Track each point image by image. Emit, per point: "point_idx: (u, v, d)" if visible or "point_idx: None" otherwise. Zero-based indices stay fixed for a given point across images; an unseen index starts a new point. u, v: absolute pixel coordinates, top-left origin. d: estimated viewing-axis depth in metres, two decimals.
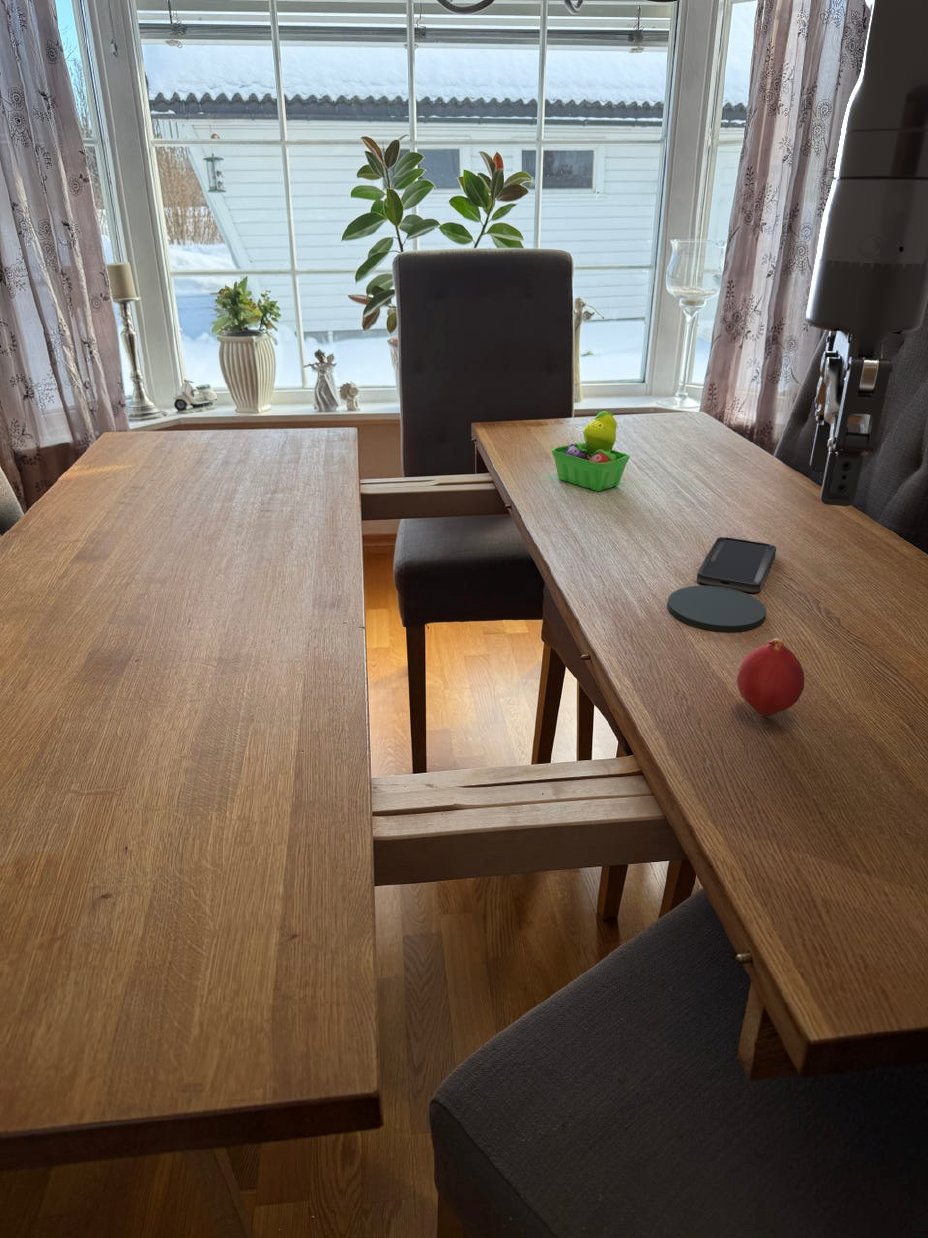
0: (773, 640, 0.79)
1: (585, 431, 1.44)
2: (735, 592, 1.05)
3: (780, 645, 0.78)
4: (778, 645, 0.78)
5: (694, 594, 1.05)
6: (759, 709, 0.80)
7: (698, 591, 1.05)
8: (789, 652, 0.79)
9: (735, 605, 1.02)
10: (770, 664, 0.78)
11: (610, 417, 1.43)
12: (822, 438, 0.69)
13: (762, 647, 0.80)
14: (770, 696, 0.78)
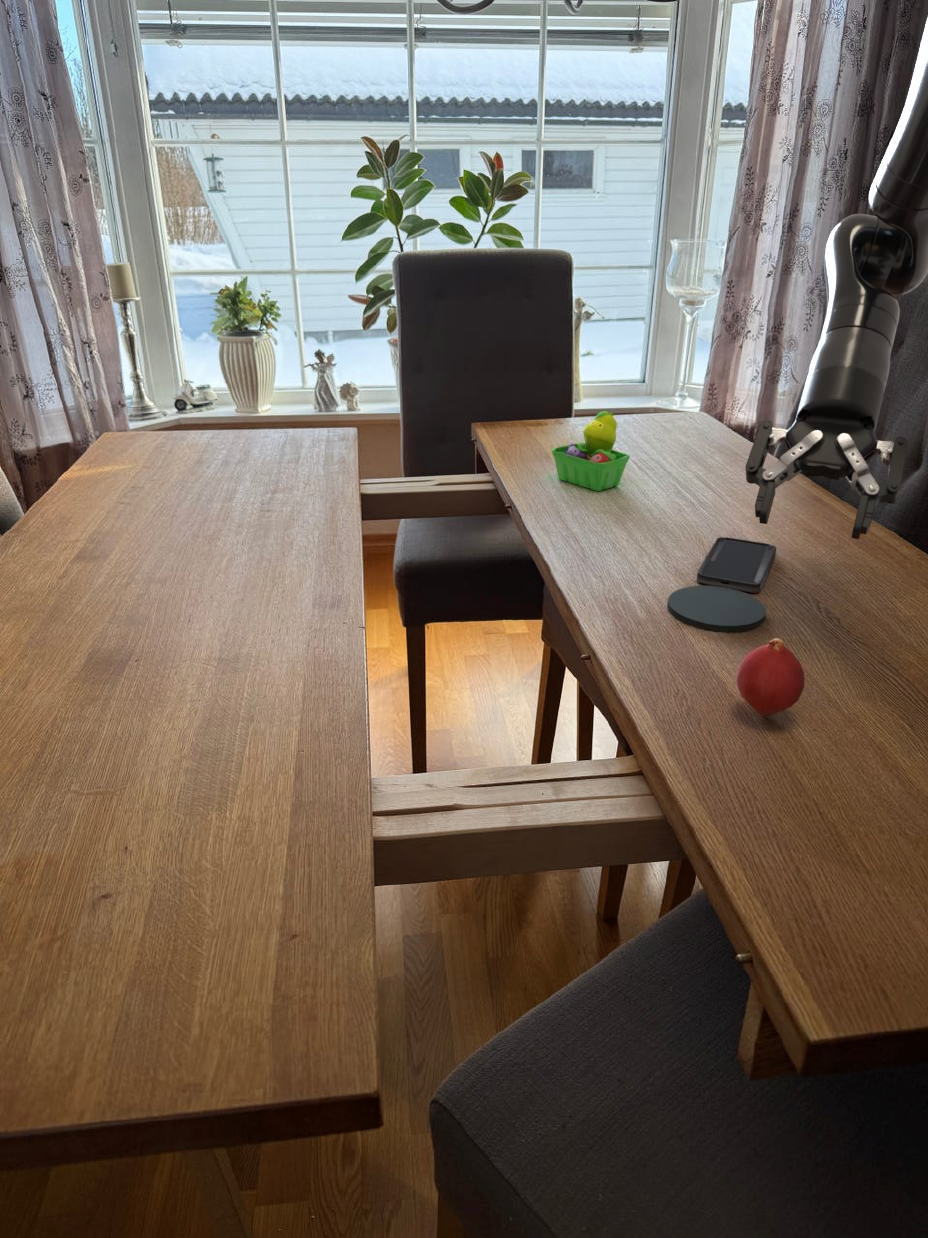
0: (773, 640, 0.79)
1: (585, 431, 1.44)
2: (735, 592, 1.05)
3: (780, 645, 0.78)
4: (778, 645, 0.78)
5: (694, 594, 1.05)
6: (759, 709, 0.80)
7: (698, 591, 1.05)
8: (789, 652, 0.79)
9: (735, 605, 1.02)
10: (770, 664, 0.78)
11: (610, 417, 1.43)
12: None
13: (762, 647, 0.80)
14: (770, 695, 0.78)
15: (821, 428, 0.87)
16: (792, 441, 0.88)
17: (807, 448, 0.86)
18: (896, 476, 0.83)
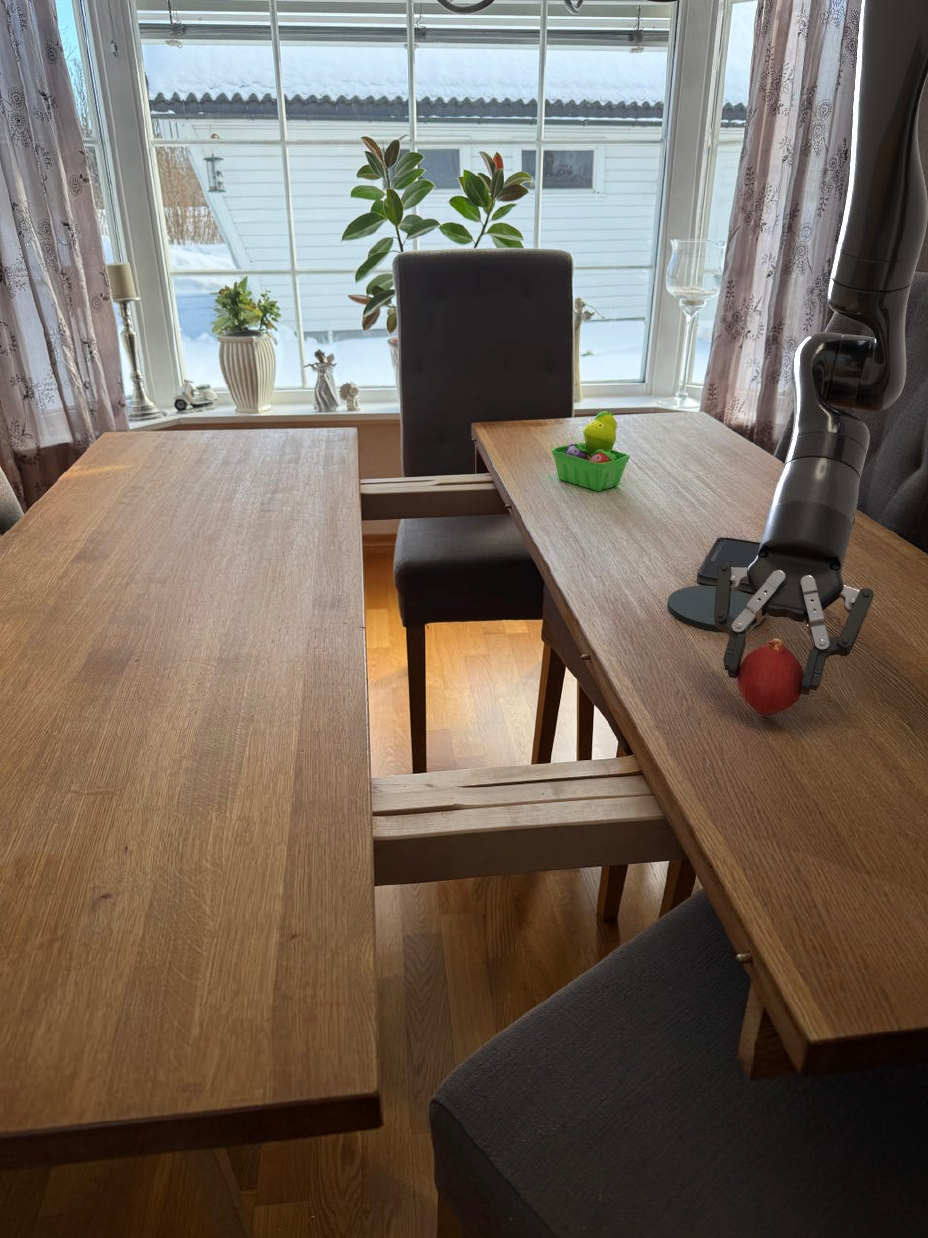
0: (773, 640, 0.79)
1: (585, 431, 1.44)
2: (735, 592, 1.05)
3: (780, 645, 0.78)
4: (778, 645, 0.78)
5: (694, 594, 1.05)
6: (759, 709, 0.80)
7: (698, 591, 1.05)
8: (789, 652, 0.79)
9: (735, 605, 1.02)
10: (770, 664, 0.78)
11: (610, 417, 1.43)
12: None
13: (762, 647, 0.80)
14: (769, 696, 0.78)
15: (784, 567, 0.81)
16: (753, 579, 0.82)
17: (769, 590, 0.80)
18: (850, 631, 0.77)
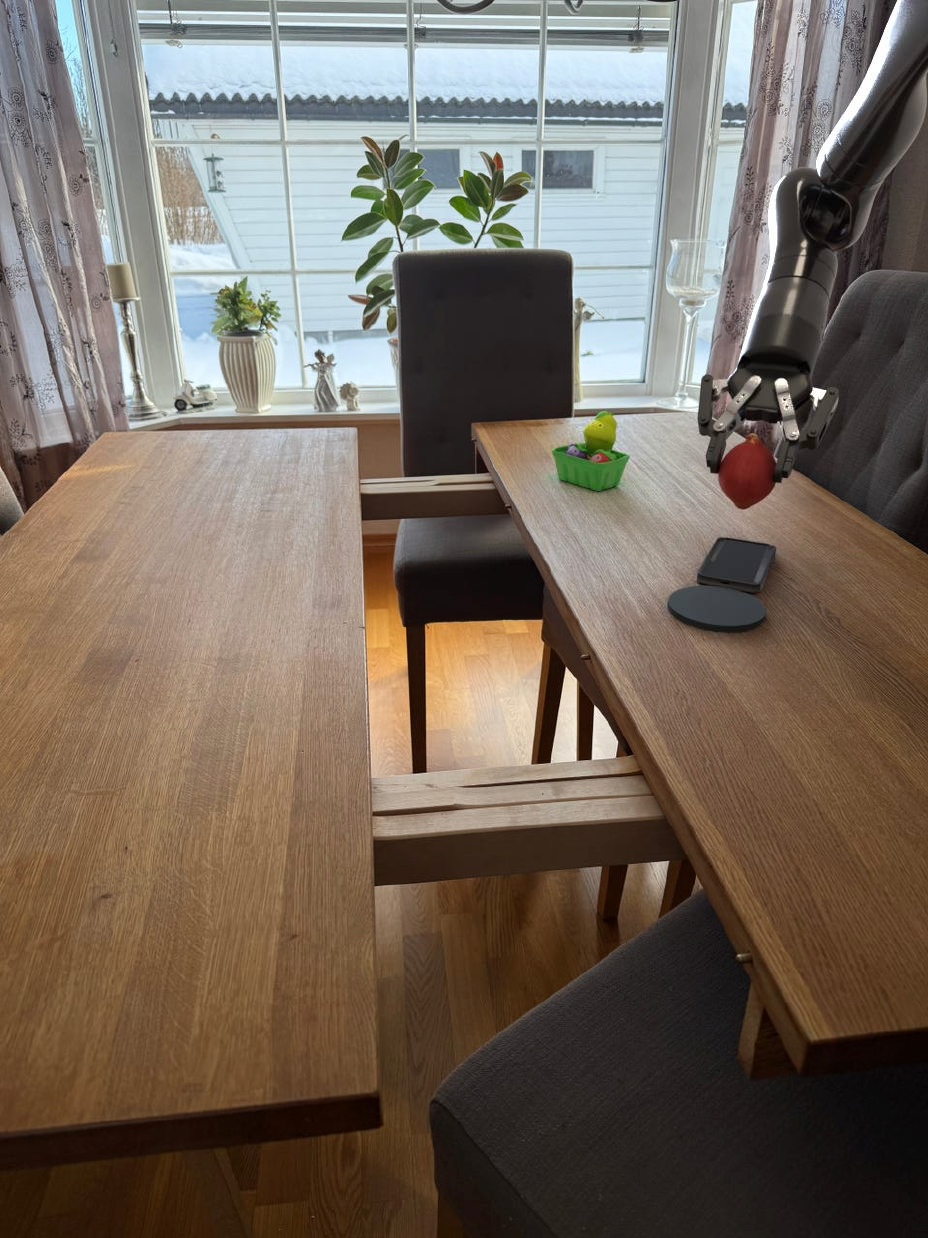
0: (749, 434, 0.88)
1: (585, 431, 1.44)
2: (735, 592, 1.05)
3: (756, 439, 0.88)
4: (754, 438, 0.88)
5: (694, 594, 1.05)
6: (737, 499, 0.90)
7: (698, 591, 1.05)
8: (764, 446, 0.89)
9: (735, 605, 1.02)
10: (747, 454, 0.88)
11: (610, 417, 1.43)
12: None
13: (740, 443, 0.89)
14: (746, 483, 0.88)
15: (760, 374, 0.91)
16: (733, 387, 0.91)
17: (746, 393, 0.90)
18: (818, 423, 0.87)
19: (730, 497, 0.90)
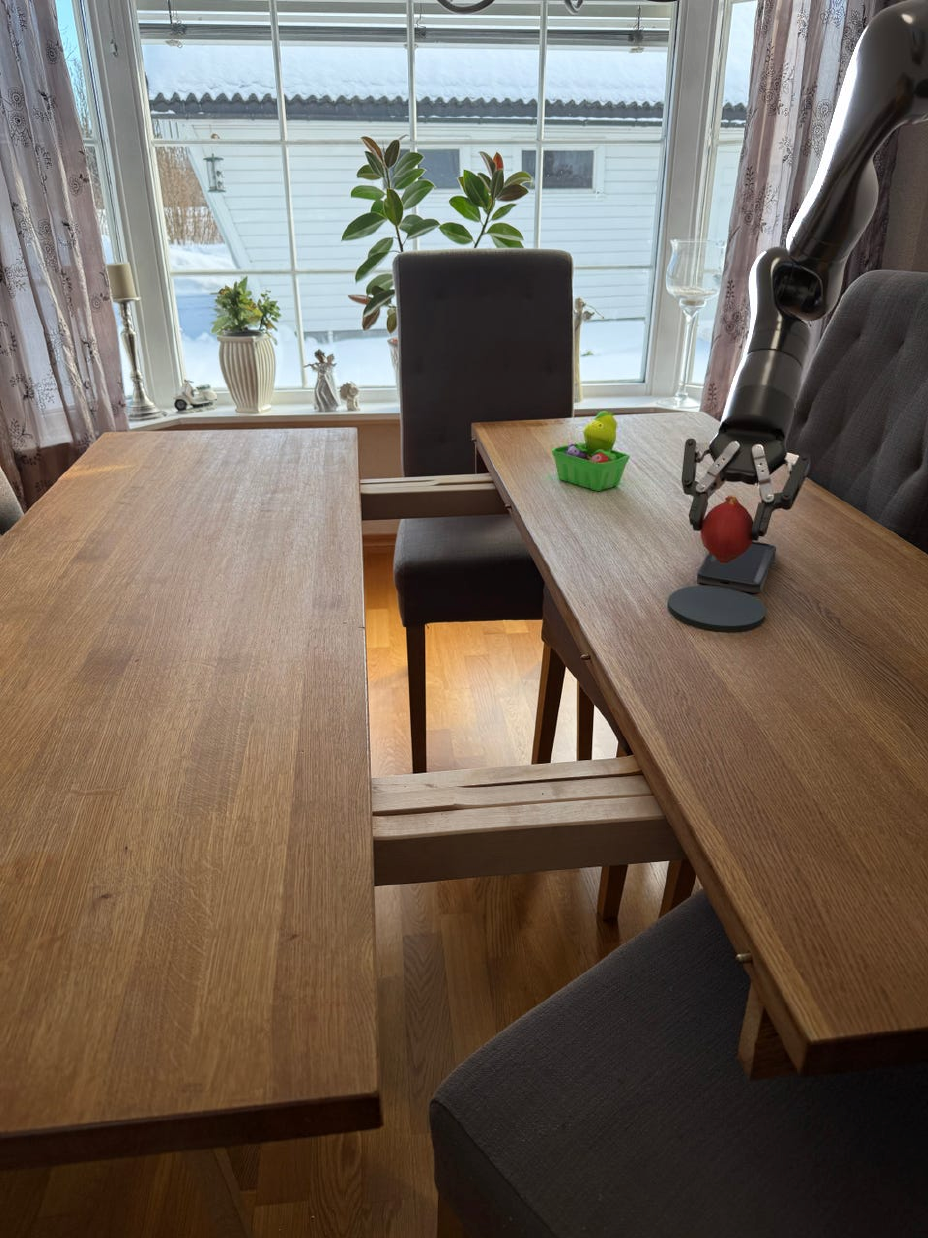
0: (728, 496, 0.96)
1: (585, 431, 1.44)
2: (735, 592, 1.05)
3: (734, 500, 0.96)
4: (732, 500, 0.96)
5: (694, 594, 1.05)
6: (718, 555, 0.98)
7: (698, 591, 1.05)
8: (742, 506, 0.97)
9: (735, 605, 1.02)
10: (726, 515, 0.96)
11: (610, 417, 1.43)
12: None
13: None
14: (725, 541, 0.96)
15: (739, 440, 0.99)
16: (714, 451, 0.99)
17: (726, 457, 0.98)
18: (791, 486, 0.95)
19: (711, 552, 0.98)
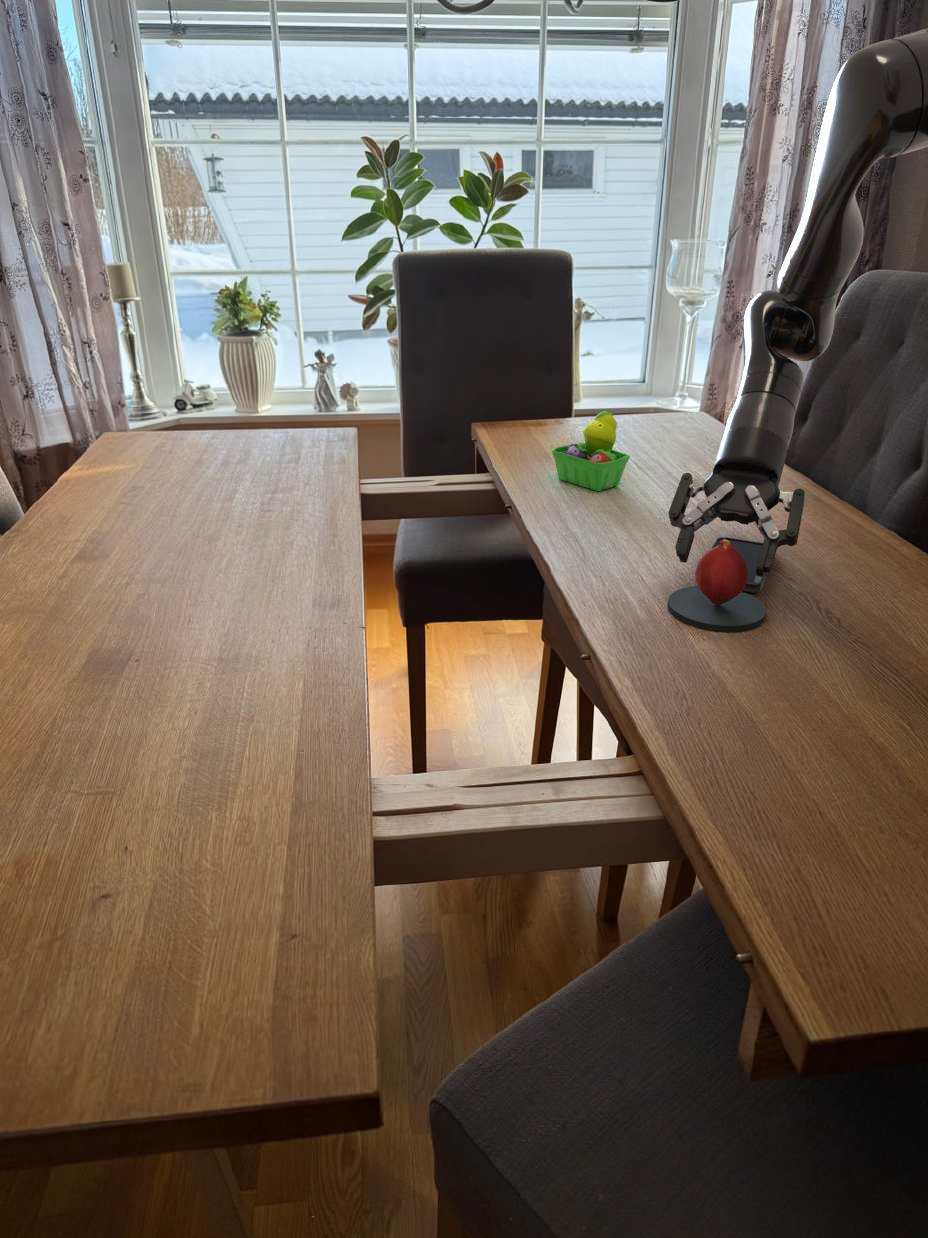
0: (722, 540, 0.98)
1: (585, 431, 1.44)
2: None
3: (728, 544, 0.98)
4: (726, 544, 0.98)
5: (694, 594, 1.05)
6: (712, 597, 1.00)
7: (698, 591, 1.05)
8: (735, 550, 0.99)
9: (735, 605, 1.02)
10: (720, 559, 0.98)
11: (610, 417, 1.43)
12: None
13: (714, 547, 1.00)
14: (719, 584, 0.98)
15: (733, 480, 1.01)
16: (708, 491, 1.01)
17: (720, 497, 1.00)
18: (793, 523, 0.97)
19: (705, 595, 1.01)
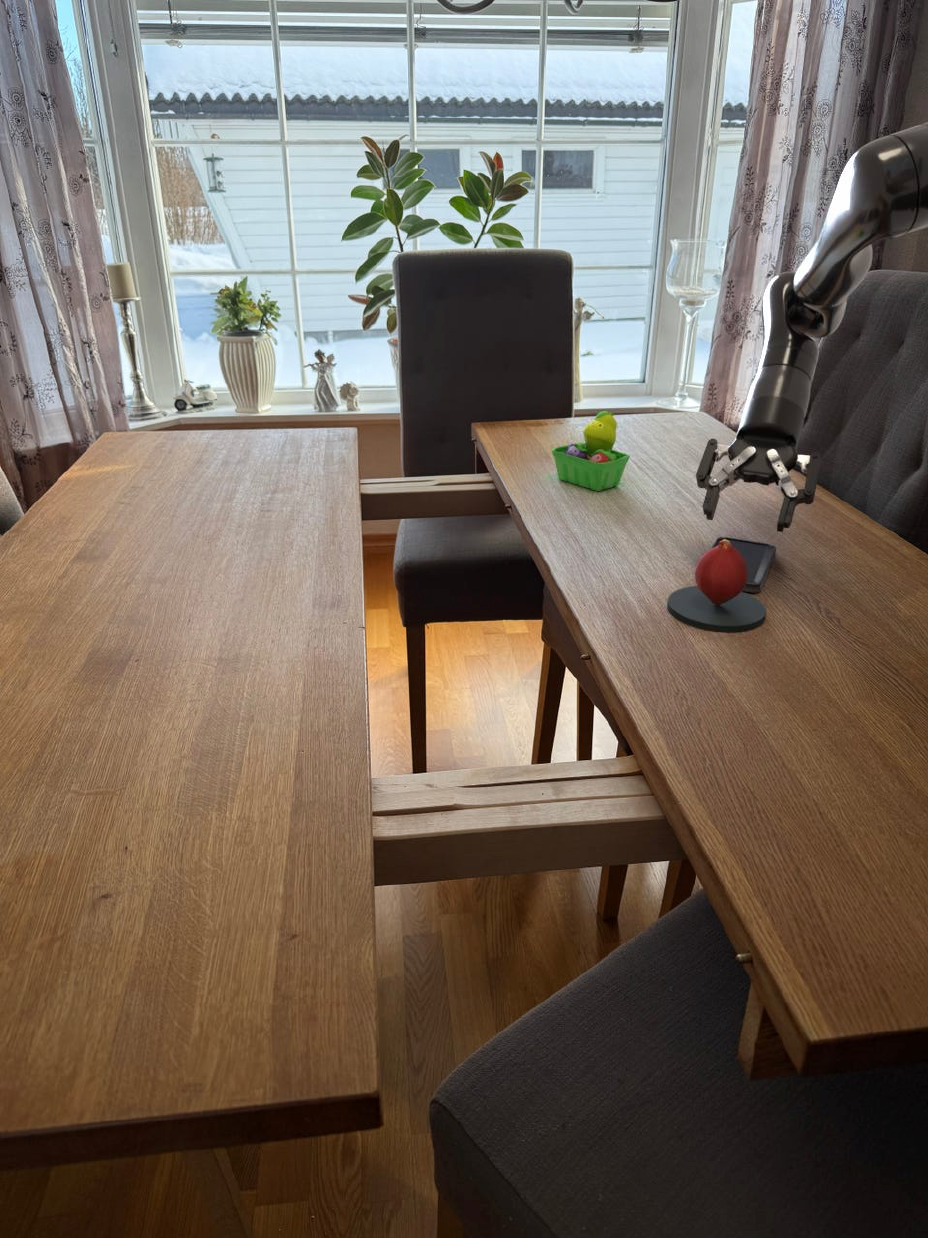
0: (722, 540, 0.98)
1: (585, 431, 1.44)
2: None
3: (728, 544, 0.98)
4: (726, 544, 0.98)
5: (694, 594, 1.05)
6: (712, 597, 1.00)
7: (698, 591, 1.05)
8: (735, 550, 0.99)
9: (735, 605, 1.02)
10: (720, 559, 0.98)
11: (610, 417, 1.43)
12: None
13: (714, 547, 1.00)
14: (719, 584, 0.98)
15: (755, 445, 1.11)
16: (732, 455, 1.11)
17: (743, 460, 1.10)
18: (811, 483, 1.07)
19: (705, 595, 1.01)
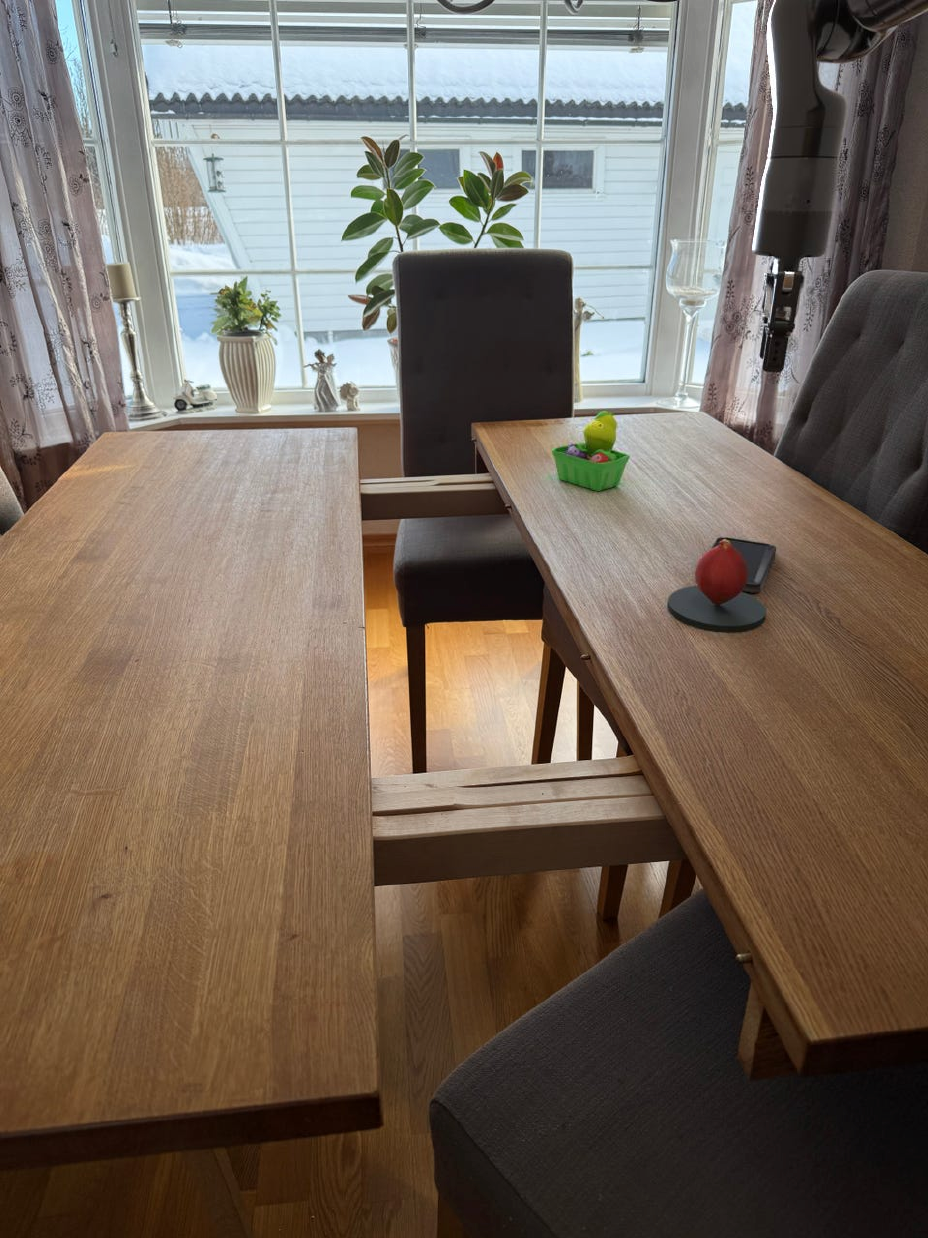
0: (722, 540, 0.98)
1: (585, 431, 1.44)
2: None
3: (728, 544, 0.98)
4: (726, 544, 0.98)
5: (694, 594, 1.05)
6: (712, 597, 1.00)
7: (698, 591, 1.05)
8: (735, 550, 0.99)
9: (735, 605, 1.02)
10: (720, 559, 0.98)
11: (610, 417, 1.43)
12: (766, 335, 1.02)
13: (714, 547, 1.00)
14: (719, 584, 0.98)
15: None
16: None
17: None
18: None
19: (705, 595, 1.01)
